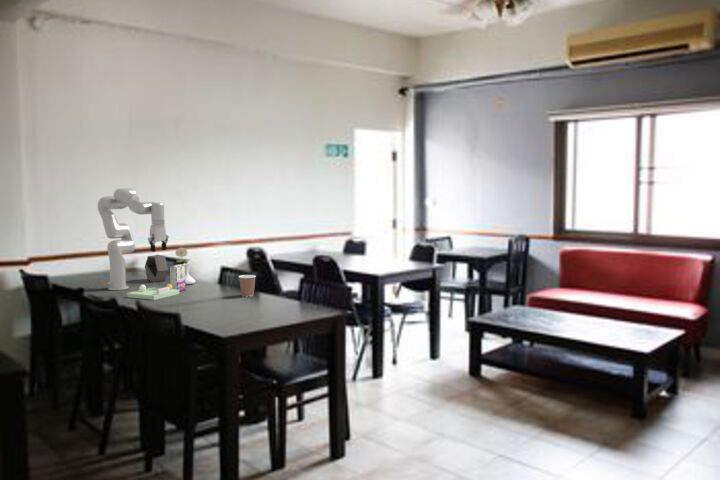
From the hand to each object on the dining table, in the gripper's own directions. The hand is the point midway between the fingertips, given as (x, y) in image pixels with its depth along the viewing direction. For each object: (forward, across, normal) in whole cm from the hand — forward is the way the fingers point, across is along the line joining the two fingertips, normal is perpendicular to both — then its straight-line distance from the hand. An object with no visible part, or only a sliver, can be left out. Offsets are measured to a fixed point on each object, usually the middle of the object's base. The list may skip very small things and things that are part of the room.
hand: (158, 250), depth 377 cm
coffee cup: (+27, -17, +53) cm, 62 cm away
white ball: (+24, +7, -7) cm, 26 cm away
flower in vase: (+27, -37, -10) cm, 47 cm away
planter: (+28, -40, -38) cm, 62 cm away
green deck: (+27, +5, -1) cm, 27 cm away
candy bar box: (+27, -13, +4) cm, 30 cm away
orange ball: (+24, -1, +6) cm, 25 cm away
